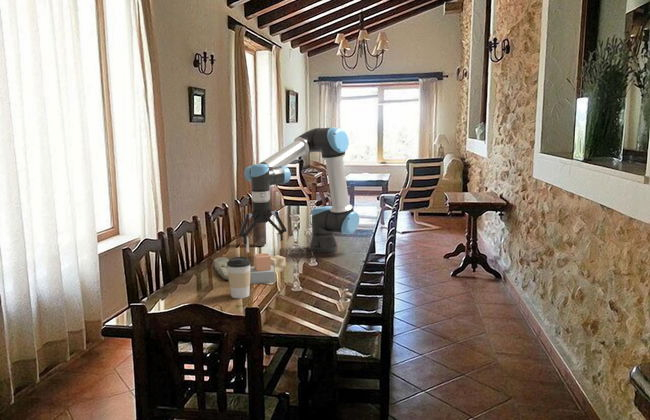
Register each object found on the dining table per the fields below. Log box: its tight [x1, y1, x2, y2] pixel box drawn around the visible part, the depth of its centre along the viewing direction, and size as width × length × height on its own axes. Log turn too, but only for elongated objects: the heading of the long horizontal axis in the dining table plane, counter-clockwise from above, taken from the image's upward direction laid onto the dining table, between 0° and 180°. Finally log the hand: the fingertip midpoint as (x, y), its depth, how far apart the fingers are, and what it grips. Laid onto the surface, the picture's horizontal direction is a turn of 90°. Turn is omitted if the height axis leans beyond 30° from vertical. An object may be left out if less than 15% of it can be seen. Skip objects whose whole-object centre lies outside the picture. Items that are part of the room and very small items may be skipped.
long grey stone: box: [212, 256, 230, 281], centre depth 224 cm, size 35×5×10 cm
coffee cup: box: [227, 256, 252, 299], centre depth 189 cm, size 9×9×15 cm
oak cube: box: [270, 255, 287, 274], centre depth 223 cm, size 6×6×6 cm
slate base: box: [250, 265, 276, 285], centre depth 209 cm, size 10×10×5 cm
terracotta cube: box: [253, 252, 271, 271], centre depth 209 cm, size 6×6×6 cm
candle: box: [252, 217, 267, 247], centre depth 270 cm, size 8×7×20 cm
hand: (263, 250), depth 209 cm, fingers open, 13 cm apart
